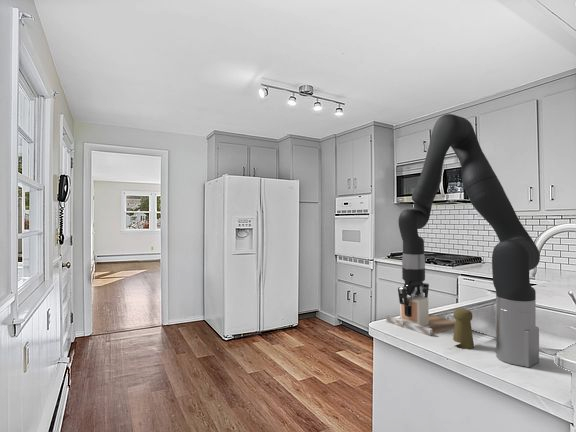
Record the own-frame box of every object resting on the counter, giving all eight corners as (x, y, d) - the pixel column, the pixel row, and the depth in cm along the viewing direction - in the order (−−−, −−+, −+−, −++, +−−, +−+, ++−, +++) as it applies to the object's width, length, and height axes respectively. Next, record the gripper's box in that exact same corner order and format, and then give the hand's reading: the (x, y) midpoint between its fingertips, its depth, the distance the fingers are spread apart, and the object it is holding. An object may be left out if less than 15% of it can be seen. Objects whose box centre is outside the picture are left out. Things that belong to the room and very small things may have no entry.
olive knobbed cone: (478, 348, 106) (477, 312, 106) (457, 349, 106) (457, 312, 106) (468, 341, 112) (468, 306, 112) (448, 341, 113) (448, 306, 112)
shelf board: (465, 328, 124) (465, 318, 124) (429, 340, 113) (429, 329, 113) (421, 316, 139) (421, 307, 139) (385, 325, 128) (385, 316, 128)
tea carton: (428, 324, 123) (428, 298, 122) (419, 327, 120) (418, 300, 120) (409, 318, 129) (408, 293, 129) (399, 321, 126) (399, 296, 126)
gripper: (417, 263, 131) (418, 309, 132) (390, 267, 123) (391, 315, 124) (435, 265, 125) (436, 313, 125) (408, 270, 117) (409, 321, 117)
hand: (413, 314), depth 124 cm, fingers open, 5 cm apart
